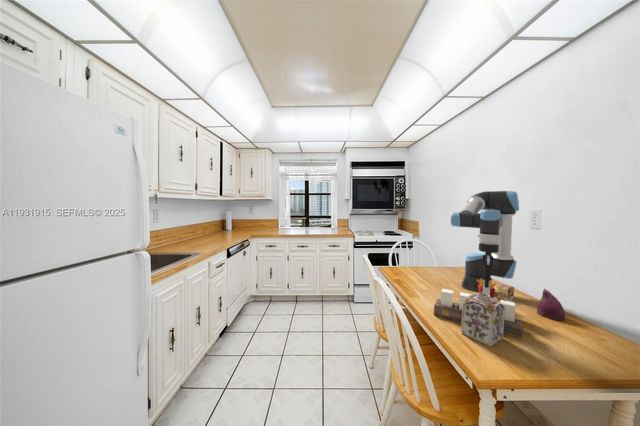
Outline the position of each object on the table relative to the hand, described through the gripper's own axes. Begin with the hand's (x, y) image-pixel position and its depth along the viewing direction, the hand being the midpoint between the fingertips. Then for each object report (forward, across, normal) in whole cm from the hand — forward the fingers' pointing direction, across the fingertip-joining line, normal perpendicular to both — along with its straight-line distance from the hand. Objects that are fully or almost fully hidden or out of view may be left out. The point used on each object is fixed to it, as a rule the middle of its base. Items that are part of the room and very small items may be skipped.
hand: (486, 293), depth 111 cm
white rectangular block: (+10, 0, -16) cm, 19 cm away
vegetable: (+14, -31, +28) cm, 44 cm away
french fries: (+14, -29, 0) cm, 33 cm away
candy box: (+14, -15, +8) cm, 22 cm away
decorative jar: (+15, +13, -1) cm, 20 cm away
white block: (+10, 0, -8) cm, 12 cm away
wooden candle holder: (+14, 0, -4) cm, 15 cm away
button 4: (+10, 0, +8) cm, 12 cm away
